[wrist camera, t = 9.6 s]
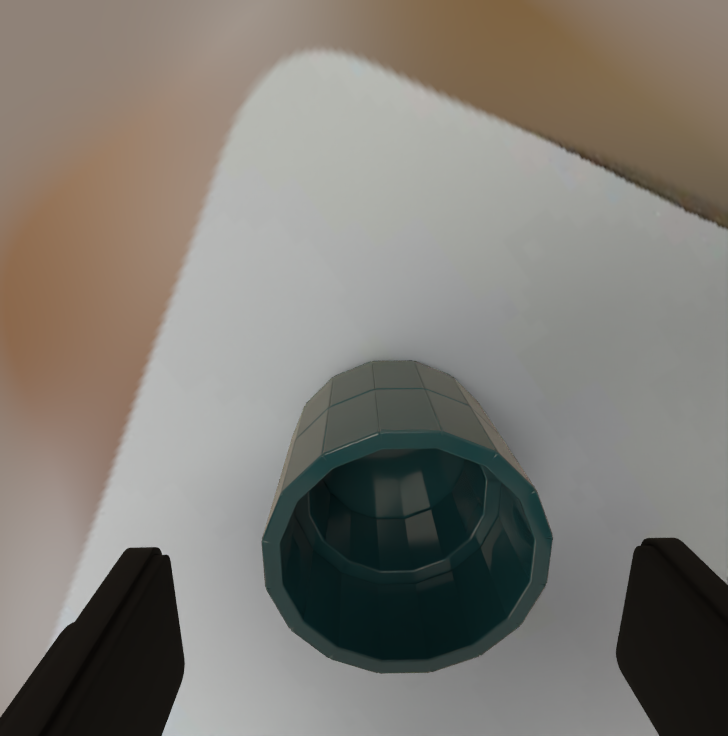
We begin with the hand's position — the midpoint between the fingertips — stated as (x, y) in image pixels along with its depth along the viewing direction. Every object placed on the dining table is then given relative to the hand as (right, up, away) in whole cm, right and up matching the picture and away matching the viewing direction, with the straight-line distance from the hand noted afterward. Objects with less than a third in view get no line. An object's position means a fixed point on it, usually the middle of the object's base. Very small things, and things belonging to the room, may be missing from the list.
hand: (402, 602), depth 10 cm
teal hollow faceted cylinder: (0, +2, +6) cm, 6 cm away
